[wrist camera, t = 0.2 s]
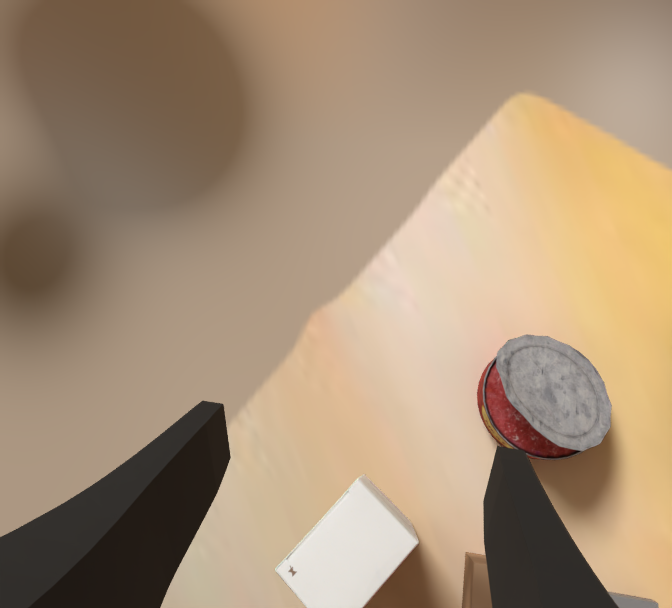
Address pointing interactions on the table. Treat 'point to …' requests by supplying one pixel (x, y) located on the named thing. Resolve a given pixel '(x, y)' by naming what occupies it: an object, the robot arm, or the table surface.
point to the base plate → (632, 601)
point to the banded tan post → (476, 582)
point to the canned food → (543, 399)
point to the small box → (350, 550)
